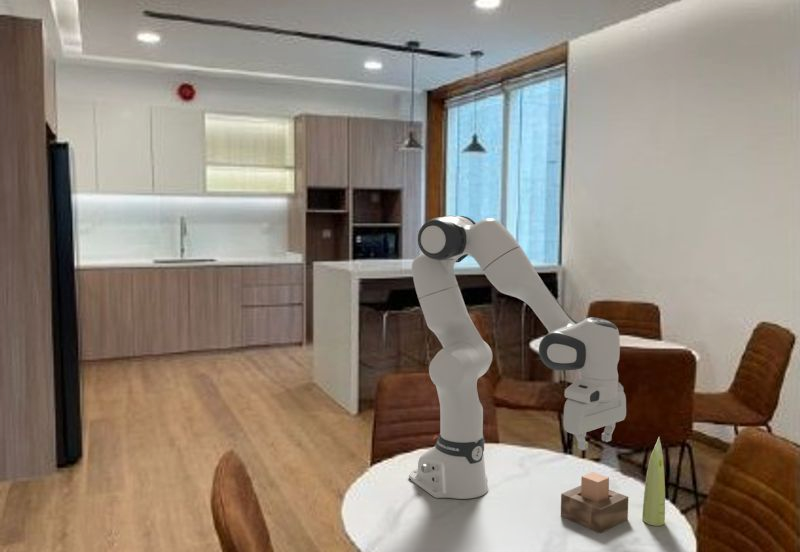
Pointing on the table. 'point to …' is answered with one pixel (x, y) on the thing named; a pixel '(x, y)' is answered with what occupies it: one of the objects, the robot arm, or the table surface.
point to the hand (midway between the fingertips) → (594, 444)
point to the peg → (595, 487)
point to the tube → (655, 489)
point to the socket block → (594, 510)
